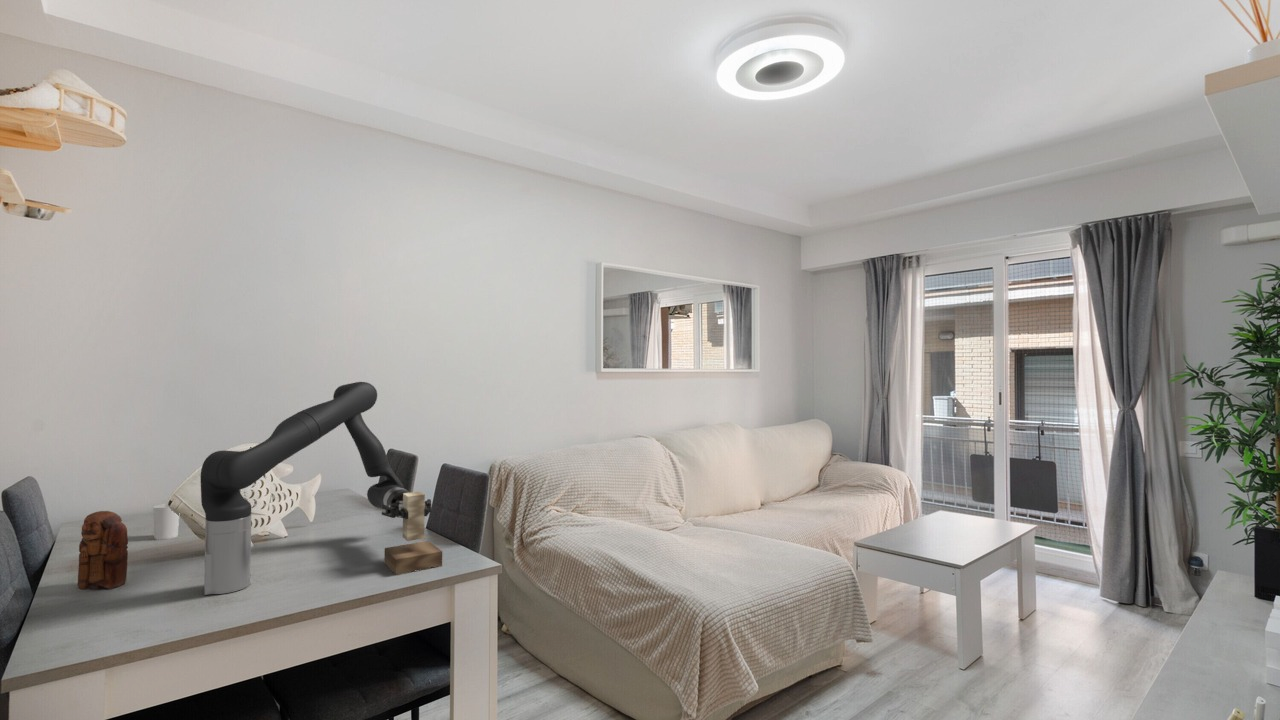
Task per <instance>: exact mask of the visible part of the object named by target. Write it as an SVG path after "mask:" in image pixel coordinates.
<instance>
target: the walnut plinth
mask: <svg viewBox="0 0 1280 720" xmlns="http://www.w3.org/2000/svg"><path fill="white" fill-rule="evenodd" d="M384 564H385V565H386V566H387V567H388V569H390V570H391V571H392V572H393V574H394V575H395V576H397V575H404V574H408V573H407V572H409V573H412V572H411V571H414V572H416V571H415V570H419V571H421V570H420V569H424V570H427V569H426V568H429V569H432V568H431V567H435V568H438V567H437V566H440V567H443V551H442V549H440V548H439V547H438V546H436V545H435V544H433V543H432V541H429V540H427V541H426V540H425V541H424V540H423V541H420V542H419V541H418V542H414V543H413V542H412V543H407V544H406V543H405V544H400V545H397V546H395V545H394V546H390V547H384ZM403 573H404V574H403Z"/></svg>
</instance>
